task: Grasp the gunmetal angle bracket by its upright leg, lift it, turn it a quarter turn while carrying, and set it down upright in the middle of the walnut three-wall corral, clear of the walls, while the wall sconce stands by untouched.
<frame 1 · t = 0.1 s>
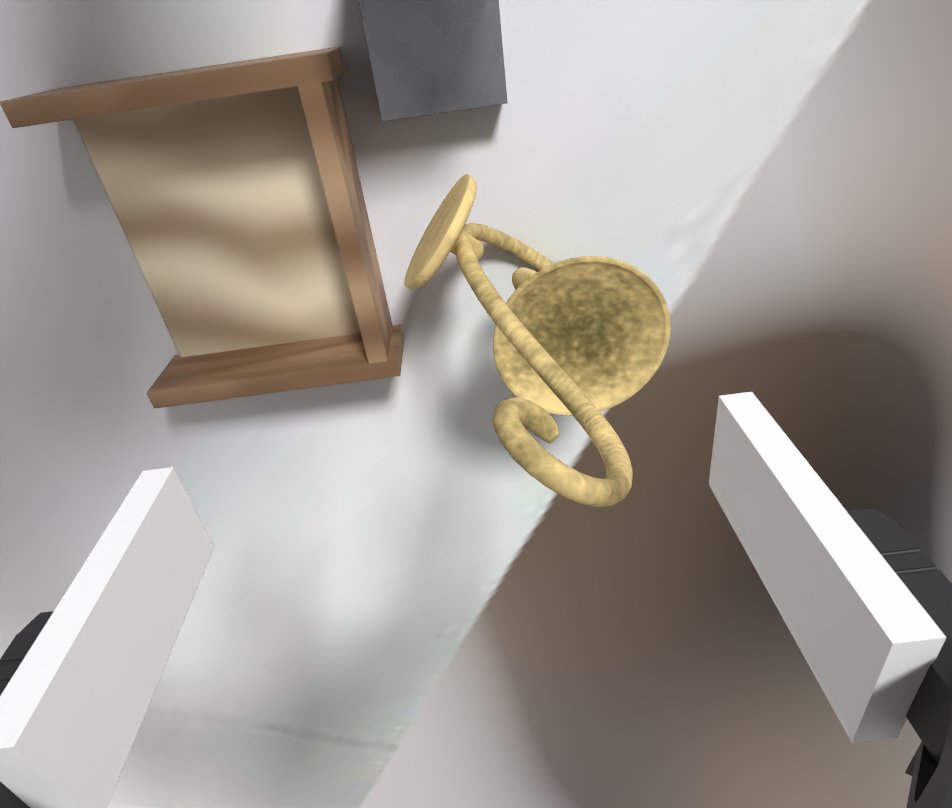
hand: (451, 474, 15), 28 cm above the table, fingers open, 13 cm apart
wall sconce: (524, 251, 41), on the table
angle bracket: (431, 15, 33), on the table
corral: (240, 231, 39), on the table
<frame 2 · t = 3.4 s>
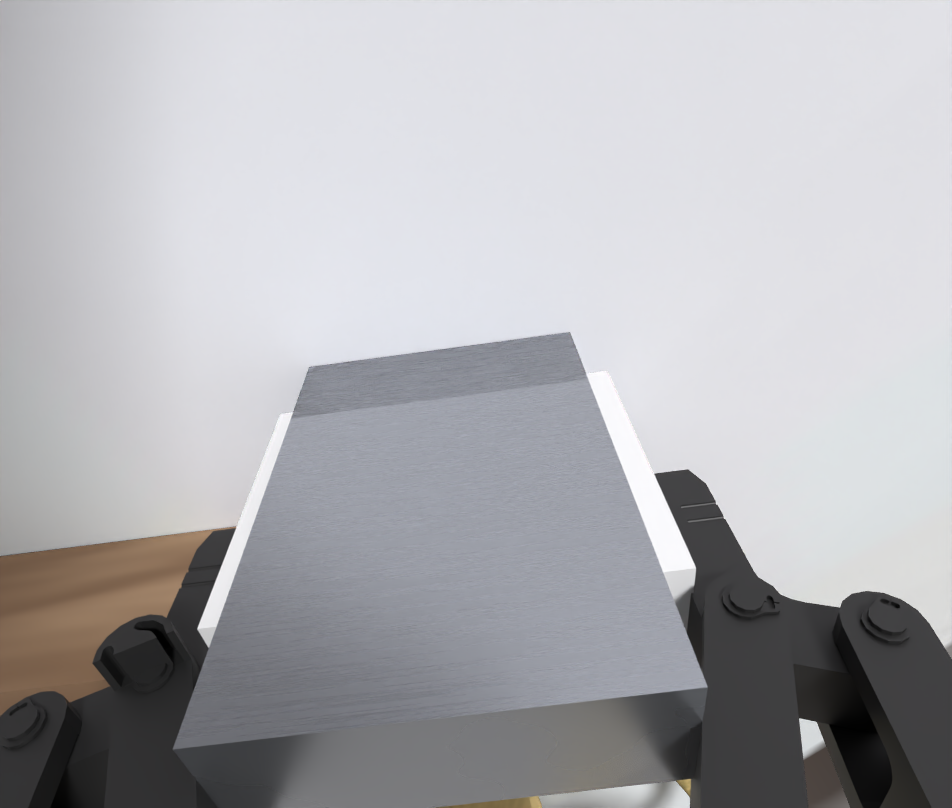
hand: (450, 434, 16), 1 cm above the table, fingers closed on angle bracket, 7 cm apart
wall sconce: (597, 707, 27), on the table
angle bracket: (461, 478, 19), on the table, touching gripper
corral: (151, 710, 25), on the table
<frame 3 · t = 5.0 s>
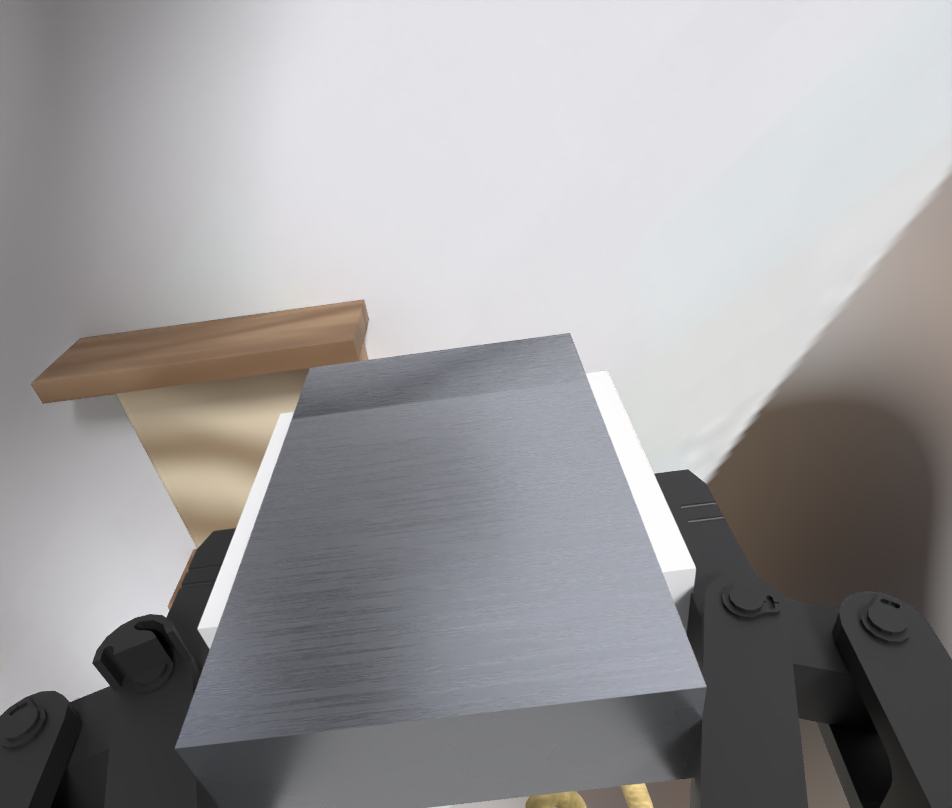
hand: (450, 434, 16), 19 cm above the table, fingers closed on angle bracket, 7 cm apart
wall sconce: (541, 459, 41), on the table
angle bracket: (462, 478, 19), point 18 cm above the table, touching gripper
corral: (261, 448, 40), on the table
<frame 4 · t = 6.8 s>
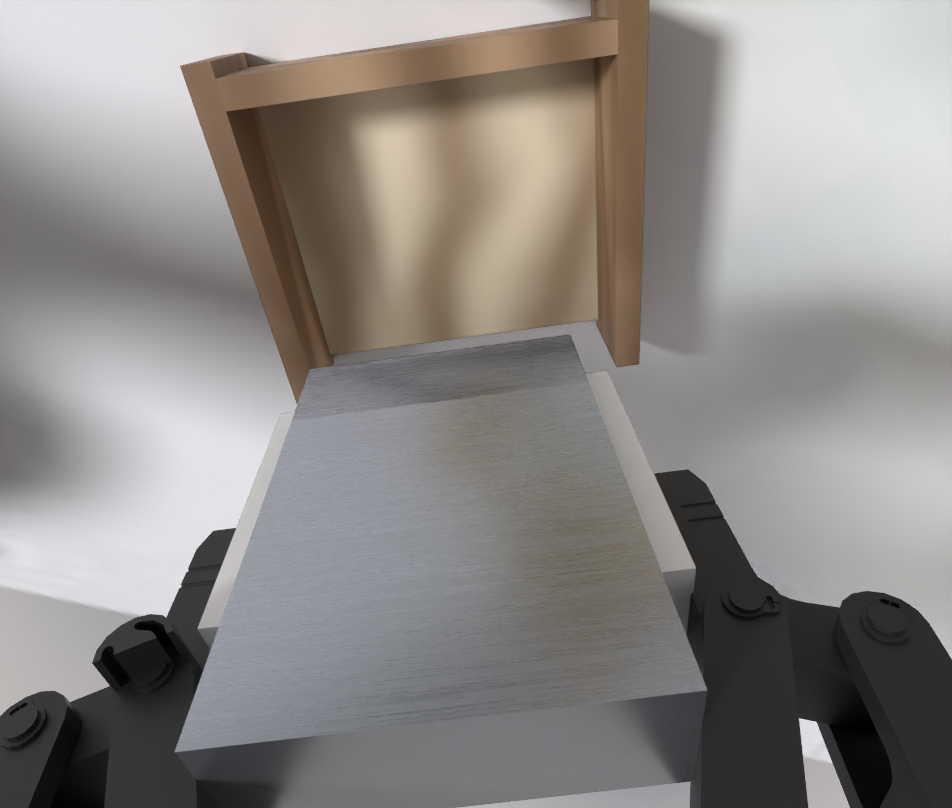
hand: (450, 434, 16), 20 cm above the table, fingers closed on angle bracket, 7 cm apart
angle bracket: (462, 479, 19), point 18 cm above the table, touching gripper
corral: (445, 218, 33), on the table
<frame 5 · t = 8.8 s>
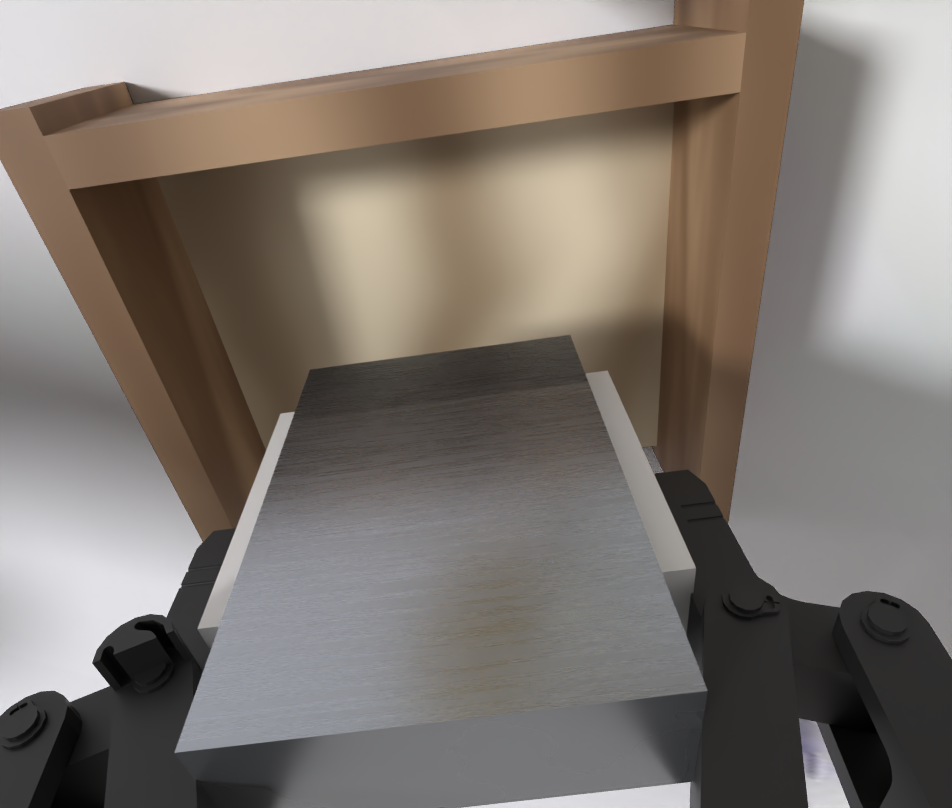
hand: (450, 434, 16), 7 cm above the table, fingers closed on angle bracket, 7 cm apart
angle bracket: (462, 480, 19), point 6 cm above the table, touching gripper
corral: (443, 317, 22), on the table
when the fingers open (2 cm above the table, at t = 10.6 s): angle bracket stays where it is, resting on corral.
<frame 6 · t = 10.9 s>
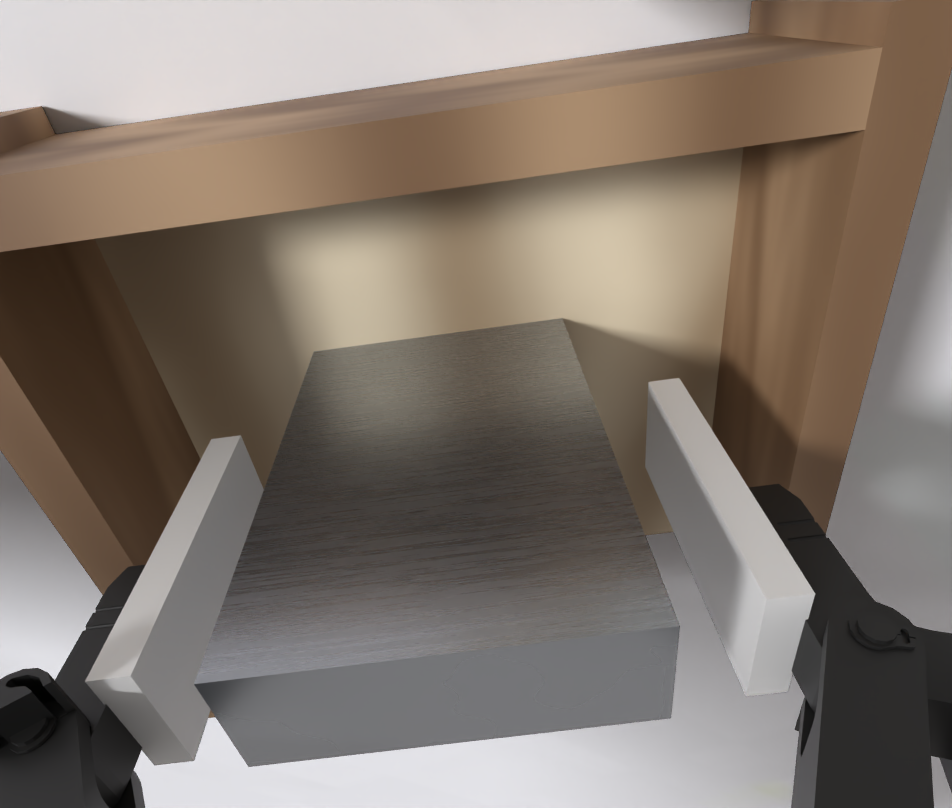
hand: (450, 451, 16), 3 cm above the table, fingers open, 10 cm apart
angle bracket: (459, 459, 20), resting on corral
corral: (449, 386, 18), on the table
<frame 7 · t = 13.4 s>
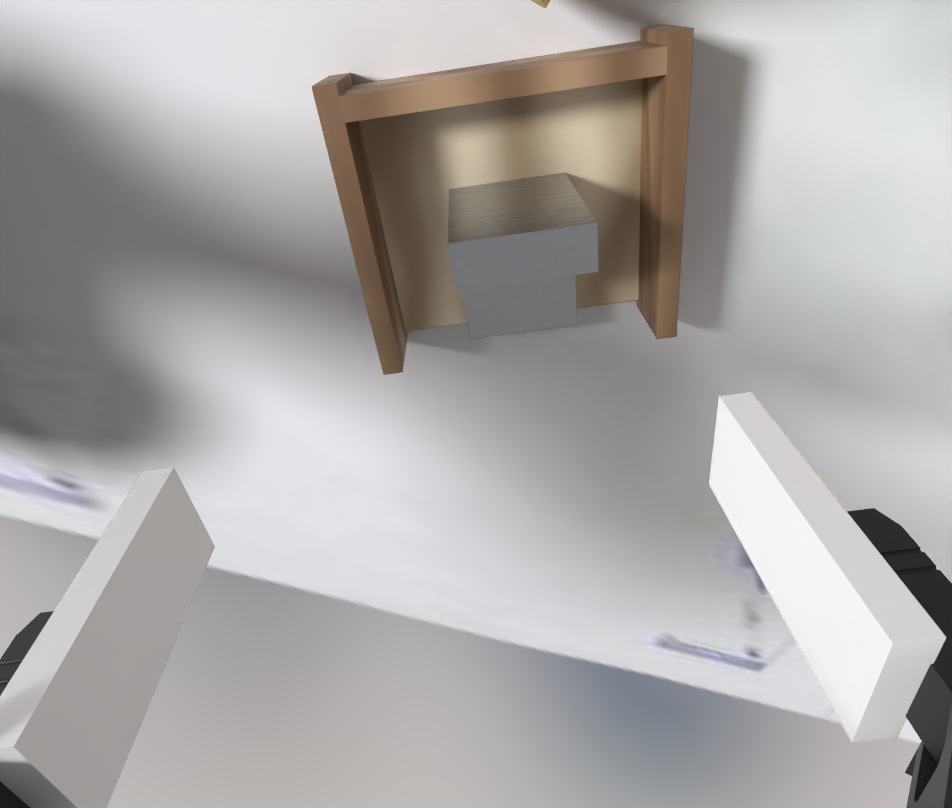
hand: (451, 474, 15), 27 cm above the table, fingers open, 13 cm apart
angle bracket: (513, 252, 39), resting on corral
corral: (510, 211, 38), on the table
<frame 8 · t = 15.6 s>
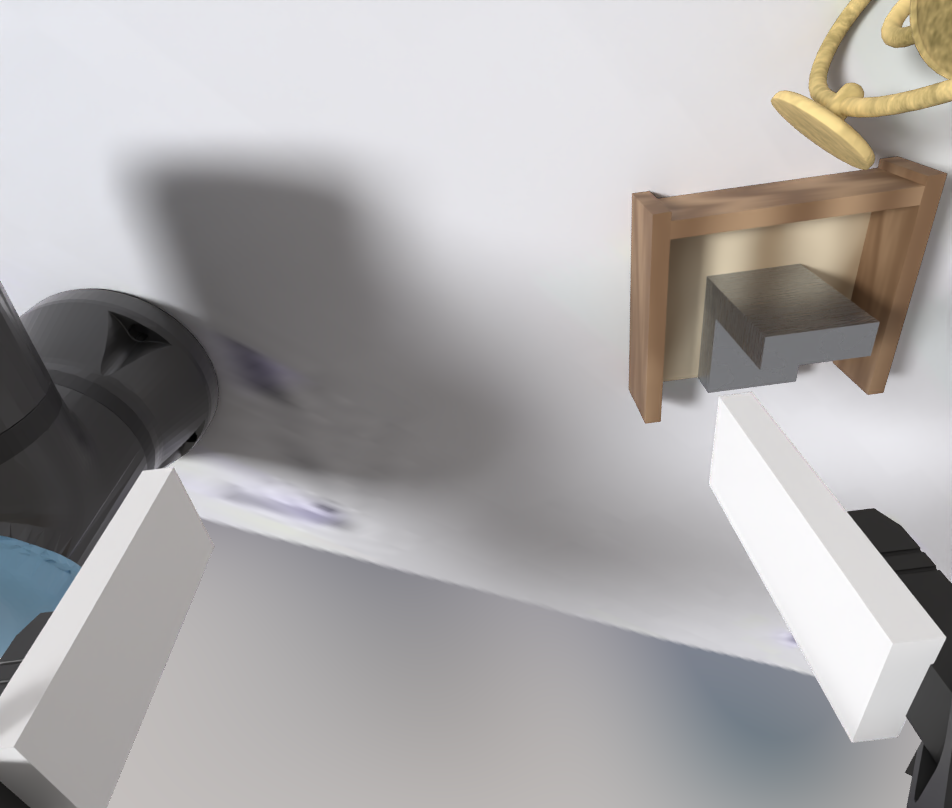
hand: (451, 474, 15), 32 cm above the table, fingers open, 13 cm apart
wall sconce: (848, 10, 38), on the table
angle bracket: (746, 323, 49), resting on corral
corral: (748, 291, 47), on the table
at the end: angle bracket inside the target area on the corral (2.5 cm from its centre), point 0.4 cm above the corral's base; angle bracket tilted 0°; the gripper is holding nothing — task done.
